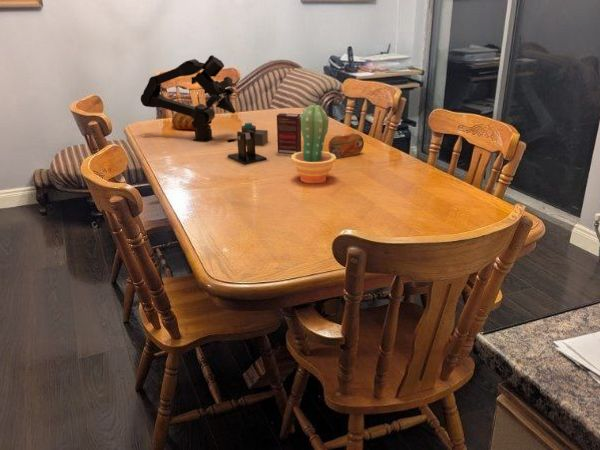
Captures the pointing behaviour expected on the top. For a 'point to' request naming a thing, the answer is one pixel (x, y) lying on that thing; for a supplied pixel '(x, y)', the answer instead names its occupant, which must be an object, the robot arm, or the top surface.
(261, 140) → the control block
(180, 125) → the pastry
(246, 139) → the lever
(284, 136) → the supplement box
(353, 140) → the tin
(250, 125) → the button
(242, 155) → the bracket
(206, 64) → the robot arm
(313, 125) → the potted cactus
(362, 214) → the top surface
